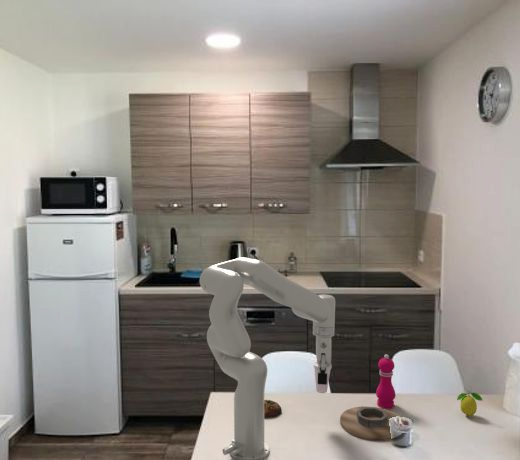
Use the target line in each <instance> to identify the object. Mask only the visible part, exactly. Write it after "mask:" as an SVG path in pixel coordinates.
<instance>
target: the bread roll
mask: <svg viewBox="0 0 520 460" xmlns="http://www.w3.org/2000/svg"><path fill="white" fill-rule="evenodd" d="M281 414H282V407H281V405H280V404H279V403H278V402H276V401H273V400H271V399H264V418H274V417H277V416H279V415H281Z"/></svg>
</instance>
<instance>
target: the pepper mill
mask: <svg viewBox="0 0 520 460" xmlns="http://www.w3.org/2000/svg"><path fill="white" fill-rule="evenodd" d="M377 367H378V369H379V373H378V374H379V375H380V380H379V381H380V382H379V384H378V386H377V388H376V392H375V395H376V397H377V401H376V404H377V406H378V408H382V409H385V410H389V409H393V408H394V407H395V401H394V400H395V399H396V390H395V388H394V386H393V383H392V378H393V375H394V374H393V373H394V371H393V370H394V369H395V362H394V361H393V360H392V359H391V358H390V356H389V354H387V353H386V354H384V356H383V357H381V359H379V361H378V366H377Z"/></svg>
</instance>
